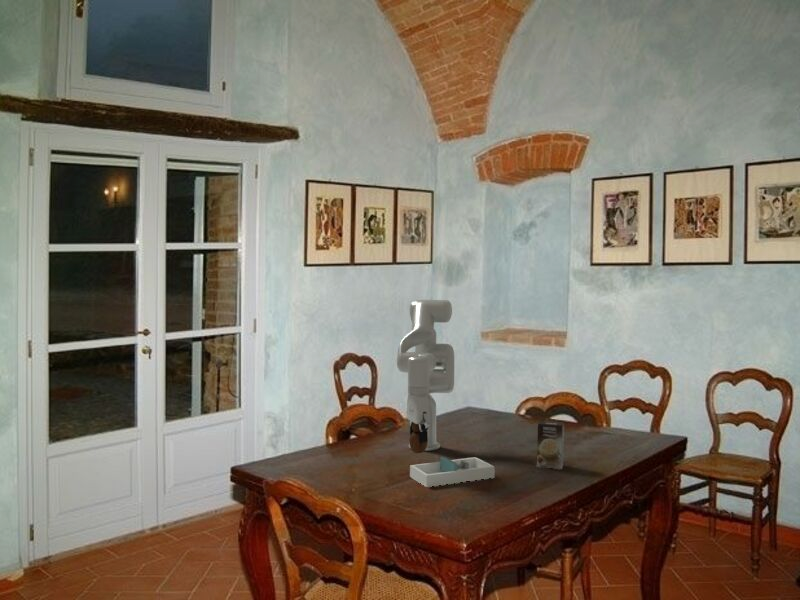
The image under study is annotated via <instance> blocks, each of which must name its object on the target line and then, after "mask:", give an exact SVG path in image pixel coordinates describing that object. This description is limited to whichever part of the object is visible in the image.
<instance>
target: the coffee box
mask: <svg viewBox="0 0 800 600" xmlns="http://www.w3.org/2000/svg"><path fill="white" fill-rule="evenodd" d="M564 437H565V422H563V421H553V420H552V421H550V420H542V419H541V420H539V421H538V423H537V443H536V445H537V447H536V448H537V449H536V450H537V451H536V453H537V454H536V458H537V459H536V468H541V467H542V469H550V468H553V469H552V470H560V469H561V470H562V469H563V466H564V444H565V443H564V440H565V438H564Z"/></svg>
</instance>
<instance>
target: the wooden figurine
mask: <svg viewBox="0 0 800 600" xmlns="http://www.w3.org/2000/svg"><path fill="white" fill-rule="evenodd" d="M421 423H422V421H421ZM423 425H424V424H423ZM423 425H422V427H423ZM412 430H413V431H414V432H413V433H412V434H411V435H410V434H409V438H408V439H409V441H408V445H409V444H410V447H411V448H410V450H411V452H413V453H415V454H422V453H424V452H425V450H426V447H427V443H428V437H427V442H422V443H420V442H419V431H420V429H419V424H415V423H413V424H412Z"/></svg>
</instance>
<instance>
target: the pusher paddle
mask: <svg viewBox="0 0 800 600" xmlns="http://www.w3.org/2000/svg"><path fill="white" fill-rule="evenodd" d="M439 458H440V460H439V462H440V470H441V471H443V472H450V471H457V469H462V470H465V469H469V463H468V462H466V461H464V460H461V464H457V463H455V462H453V461H451V460H452V459H449V458H448V457H447V456H445V455H444V456H440V457H439Z"/></svg>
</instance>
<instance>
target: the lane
mask: <svg viewBox="0 0 800 600" xmlns="http://www.w3.org/2000/svg"><path fill="white" fill-rule="evenodd" d="M450 460H451V461H453V462H455V463H457V464H461V460H464V461H466V462H468V463H469V469H465V470H462V469H457V471H450V472H443V471H441V470H440V461H436V462H427V463H426V462H425V463H418V464H411V465H410V466H409V477H410V478H411V479H413V480H414V481H416V482H417V483H418V484H420V483H421V484H420V485H422V486H423V485H424V486H423V487H425V488H426V487H427V488H431V487H432V486H434V487H440V486H439V485H441V486H446V484H448V485H453V484H454V483H455V484H461V483H460V482H463V483H467V482H466V481H470V482H476V481H475V480H477V481H482V480H481V479H484V480H489V478H491V479H495V477H496V476H495V473H496V471H495V465H492V464H490V463H488V462H487V461H485V460H482V459H480V458H478V457H475V456H474V457H466V458H465V457H464V458H457V459H450Z"/></svg>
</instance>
